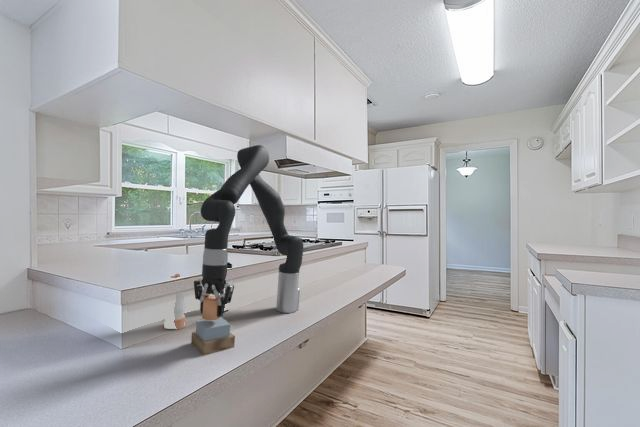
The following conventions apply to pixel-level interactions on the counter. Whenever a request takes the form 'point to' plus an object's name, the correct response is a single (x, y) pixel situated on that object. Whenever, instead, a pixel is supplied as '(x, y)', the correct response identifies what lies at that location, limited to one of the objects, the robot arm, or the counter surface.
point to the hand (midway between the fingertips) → (211, 314)
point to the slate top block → (212, 329)
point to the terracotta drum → (210, 308)
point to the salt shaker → (179, 308)
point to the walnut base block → (212, 344)
